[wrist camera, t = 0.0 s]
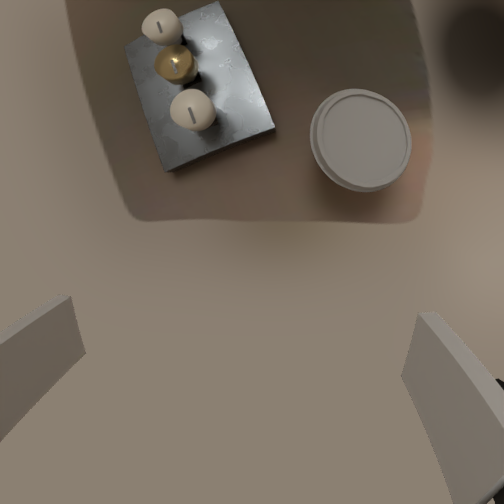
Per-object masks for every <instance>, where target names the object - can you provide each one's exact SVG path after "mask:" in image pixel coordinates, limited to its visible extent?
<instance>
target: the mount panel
mask: <svg viewBox="0 0 504 504" xmlns="http://www.w3.org/2000/svg"><path fill="white" fill-rule="evenodd" d="M178 19H179V20H180V21H181V23H182V24H183V27H184V30H183V34H182V35H181V38H182V42H181V44H183V43H185V42H187V44H188V45H186V46H185V47H186V48H187V49H188V50H189V51H190V52H191V53H192V55H193V56H194V57H195V58H196V59H197V61H198V64H199V69H198V72H197V74H196V76H198V75H200V77H201V79H202V81H201V82H199V83H197V84H195V85H193V86H190V87H188V84H187V83H186V84H183V85H174V84H171V83H170V82H168V81H167V80H165V79H164V78H163V77H161V76H160V75H158V74H157V72H156V71H155V68H154V62H155V59H156V57H157V55H158V54H159V52H160V51H161V50H163V49H164V48H166V47H167V46H159V45H156V44H155V43H154V42H153V41H152V40H150V39H149V38H148V37H147V36H146V35H143V36H141V37H139V38H138V39H136V40H134V41H132V42H131V43H129V44H127V45H126V46H124V48H125V52H126V55H127V59H128V62H129V66H130V69H131V72H132V76H133V79H134V82H135V85H136V89H137V92H138V95H139V98H140V101H141V104H142V108H143V111H144V114H145V117H146V120H147V123H148V126H149V129H150V132H151V135H152V137H153V140H154V143H155V146H156V149H157V152H158V155H159V158H160V160H161V163H162V166H163V169H164V171H165V172H175V171H177V170H180V169H182V168H184V167H186V166H189V165H191V164H193V163H196V162H198V161H200V160H203V159H205V158H207V157H210V156H212V155H214V154H217V153H219V152H222V151H224V150H227V149H229V148H232V147H234V146H237V145H240V144H242V143H245V142H247V141H250V140H253V139H256V138H258V137H261V136H264V135H267V134H269V133H272V132H275V131H276V129H275V126H274V123H273V121H272V118H271V116H270V113H269V111H268V109H267V106H266V104H265V101H264V99H263V96H262V94H261V92H260V89H259V87H258V85H257V82H256V80H255V78H254V76H253V73H252V71H251V69H250V66H249V64H248V62H247V60H246V58H245V55H244V53H243V51H242V49H241V47H240V45H239V42H238V40H237V38H236V36H235V34H234V32H233V30H232V28H231V26H230V24H229V22H228V20H227V17H226V15H225V13H224V11H223V9H222V7H221V6H220V4H219V2H218V1H217V2H214V3H212V4H209V5H206V6H204V7H201V8H199V9H197V10H194V11H192V12H190V13H187V14H185V15H183V16H181V17H178ZM181 44H180V45H181ZM168 46H170V45H168ZM187 89H197V90H200V91H202V92H203V93H204V94H205V95H206V96H207V97H208V98H210V99H211V100H212V101H213V103H214V104H215V107H216V118H217V120H218V123H219V124H217V125H214V126H212V127H210V128H207V129H205V130H202V131H191V130H189V129H186V128H184V127H182V126H179V125H178V124H176V123H175V122H174V121H173V119H172V117H171V114H170V107H171V103H172V101H173V99H174V98H175V97H176V96H177V95H178V94H179V93H180V92H182V91H184V90H187Z"/></svg>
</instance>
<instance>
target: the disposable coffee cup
mask: <svg viewBox="0 0 504 504" xmlns="http://www.w3.org/2000/svg"><path fill="white" fill-rule="evenodd" d="M310 143H311V149H312V152H313V154H314V156H315V159H316V161H317V163H318V165H319V166H320V168H321V169H322V170H323V172H324V173H325V174H326V175H327V176H328V177H329V178H330V179H331V180H333V181H334V182H335V183H337V184H339V185H340V186H342V187H345V188H347V189H350V190H353V191H359V192H374V191H378V190H381V189H384V188H386V187H388V186H390V185H391V184H392V183H394V182H395V181H396V180H397V179H398V178H399V177H400V176H401V175H402V173H403V172H404V170H405V168H406V166H407V164H408V161H409V157H410V153H411V134H410V130H409V127H408V124H407V122H406V120H405V118H404V116H403V115H402V113H401V112H400V110H399V109H398V108H397V107H396V106H395V105H394V104H393V103H392V102H391V101H389V100H388V99H386V98H385V97H383V96H381V95H379V94H377V93H374V92H371V91H368V90H364V89H347V90H342V91H339V92H337V93H335V94H332V95H331V96H330V97H328V98H327V99H325V100H324V101H323V102H322V103H321V104H320V106H319V107H318V109H317V110H316V112H315V114H314V116H313V119H312V122H311V127H310Z"/></svg>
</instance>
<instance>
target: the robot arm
mask: <svg viewBox="0 0 504 504" xmlns="http://www.w3.org/2000/svg"><path fill="white" fill-rule="evenodd" d="M85 354H86V352H85V348H84V345H83V342H82V338H81V335H80V332H79V328H78V324H77V320H76V316H75V312H74V307H73V303H72V299H71V296H65V295H57V296H56V297H54V298H52V299H51V300H49V301H48V302H46V303H44V304H43V305H41V306H40V307H38V308H36V309H35V310H33V311H32V312H30V313H29V314H27V315H25V316H24V317H22V318H21V319H19V320H18V321H16V322H15V323H14V324H12V325H10V326H9V327H7V328H6V329H4V330H3V331H1V332H0V442H1V441H2V439H3V438H4V437H5V436H6V435H7V434H8V433H9V432H10V431H11V430H12V429H13V427H14V426H15V425H16V424H17V423H18V422H19V421H20V420H21V419H22V418H23V417H24V416H25V414H27V412H28V411H29V410H30V409H31V408H32V407H33V406H34V405H35V404H36V403H37V402H38V401H39V400H40V399H41V398H42V397H43V396H44V395H45V394H46V393H47V392H48V391H49V390H50V389H51V388H52V386H54V384H55V383H56V382H57V381H58V380H59V379H60V378H61V377H62V376H63V375H64V374H65V373H66V372H67V371H68V370H69V369H70V368H71V367H72V366H73V365H74V364H75V363H76V362H78V361H79V360H80V358H82V357H83V356H84V355H85ZM401 377H402V379H403V381H404V383H405V385H406V387H407V390H408V392H409V394H410V396H411V398H412V400H413V403H414V405H415V407H416V409H417V412H418V414H419V416H420V418H421V421H422V423H423V425H424V427H425V430H426V432H427V434H428V437H429V439H430V442H431V444H432V447H433V449H434V452H435V454H436V457H437V459H438V462H439V465H440V467H441V469H442V473H443V475H444V478H445V481H446V483H447V486H448V489H449V492H450V495H451V498H452V500H453V504H487V503H488V502H489V501H490V500H491V499H492V498H493V499H494V501H495V504H504V382H503V381H501V380H500V379H494V378H493V376H492V375H491V374H490V373H489V371H488V370H487V369H486V368H485V366H484V365H483V364H482V363H481V362H480V360H479V359H478V358H477V357H476V356H475V355H474V353H473V352H472V351H471V350H470V349H469V348H468V347H467V345H466V344H465V343H464V342H463V341H462V340H461V339H460V337H458V335H457V334H456V333H455V332H454V331H453V330H452V329H451V328H450V327H449V325H447V323H446V322H445V321H444V320H443V319H442V318H441V317H440V316H439V315H438V314H437V313H436V312H426V313H418V316H417V320H416V324H415V329H414V332H413V336H412V340H411V344H410V348H409V351H408V355H407V358H406V362H405V365H404V368H403V371H402V375H401Z"/></svg>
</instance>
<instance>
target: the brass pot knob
mask: <svg viewBox="0 0 504 504" xmlns="http://www.w3.org/2000/svg"><path fill="white" fill-rule="evenodd" d="M154 68H155V71H156V72H157V74H158V75H160V76H161V77H163V78H164V79H165V80H167V81H168V82H170V83H171V84H174V85H183V84H186V83H191V82H193V81H194V80H195V78H196V74H197V72H198V69H199V64H198V61H197V59H196V58H195V57H194V56H193V55H192V53H191V52H190V51H189V50H188V49H187V48H186V47H185V46H183V45H179V44H174V45H170V46H167V47H166V48H164V49H163V50H161V51H160V52H159V54H158V55H157V57H156V59H155V62H154Z"/></svg>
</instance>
